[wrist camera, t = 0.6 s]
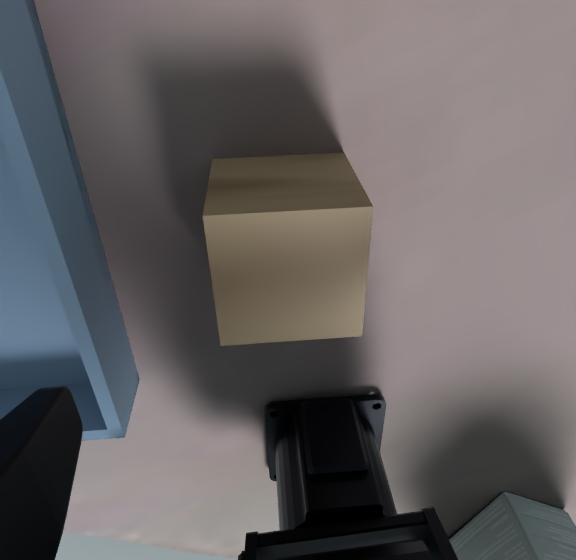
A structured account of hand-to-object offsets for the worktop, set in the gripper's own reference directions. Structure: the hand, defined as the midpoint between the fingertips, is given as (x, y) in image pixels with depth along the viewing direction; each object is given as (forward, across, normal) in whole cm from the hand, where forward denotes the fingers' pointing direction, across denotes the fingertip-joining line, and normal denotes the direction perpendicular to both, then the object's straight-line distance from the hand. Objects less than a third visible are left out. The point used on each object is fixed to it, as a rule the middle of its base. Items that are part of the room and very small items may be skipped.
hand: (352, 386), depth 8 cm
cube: (+12, 0, +2) cm, 12 cm away
